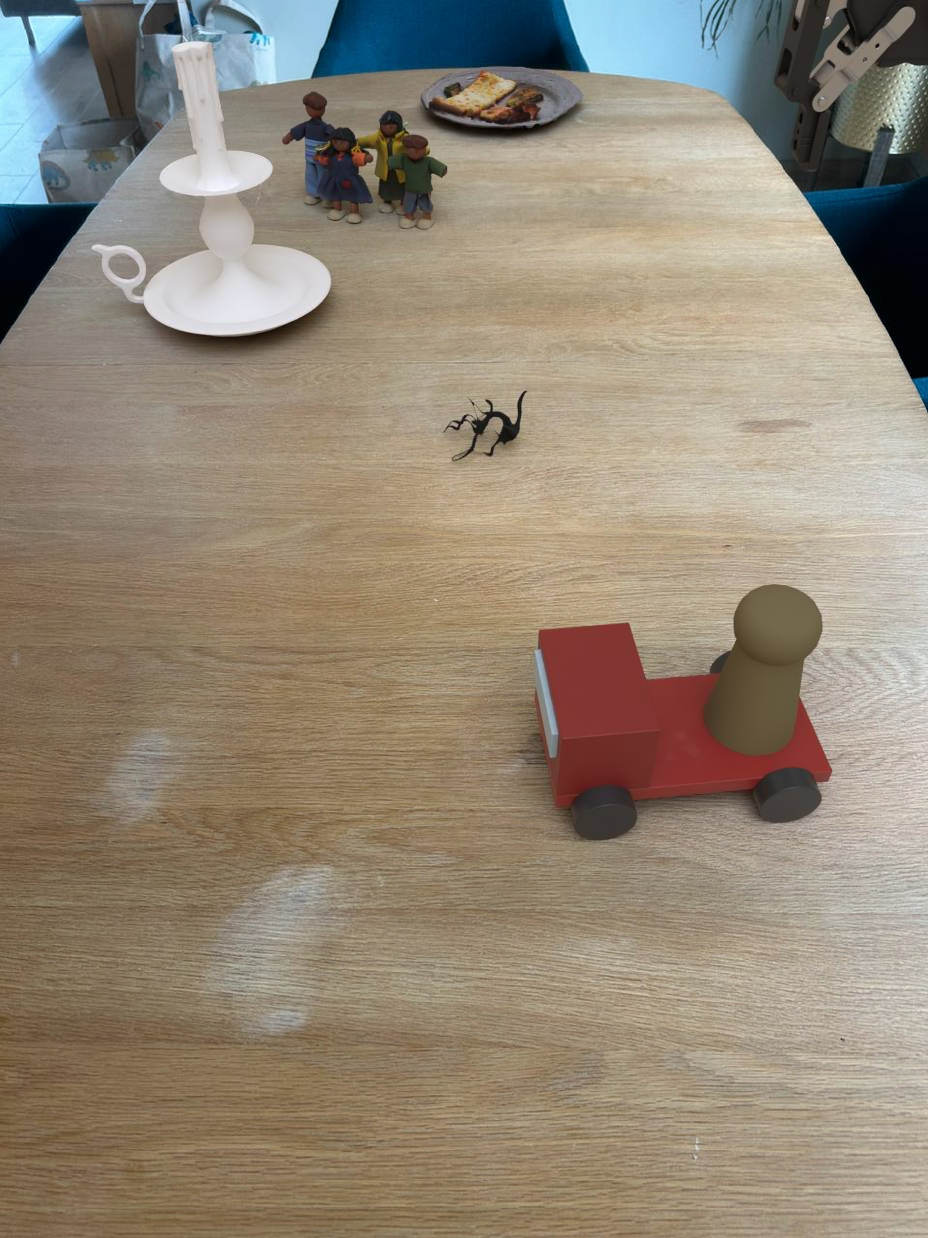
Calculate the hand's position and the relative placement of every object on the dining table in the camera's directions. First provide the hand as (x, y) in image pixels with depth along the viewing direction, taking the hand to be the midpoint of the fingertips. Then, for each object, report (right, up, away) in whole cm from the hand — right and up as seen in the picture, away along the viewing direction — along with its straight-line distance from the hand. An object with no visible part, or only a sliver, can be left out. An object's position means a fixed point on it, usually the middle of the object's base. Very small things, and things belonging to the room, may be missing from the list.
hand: (869, 163), depth 65 cm
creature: (-25, -13, +30) cm, 41 cm away
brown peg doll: (-7, -37, +2) cm, 37 cm away
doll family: (-39, +24, +66) cm, 81 cm away
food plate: (-21, +50, +91) cm, 106 cm away
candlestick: (-54, +5, +48) cm, 72 cm away
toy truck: (-12, -39, +4) cm, 41 cm away
